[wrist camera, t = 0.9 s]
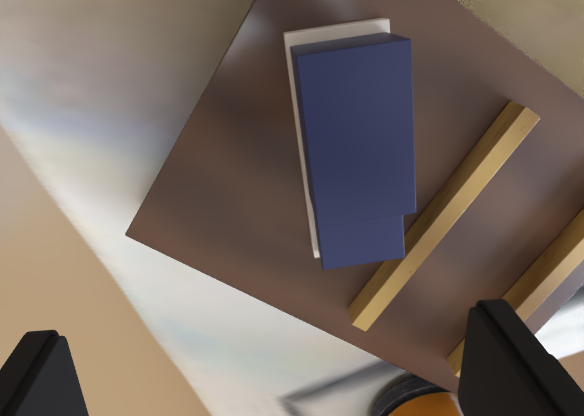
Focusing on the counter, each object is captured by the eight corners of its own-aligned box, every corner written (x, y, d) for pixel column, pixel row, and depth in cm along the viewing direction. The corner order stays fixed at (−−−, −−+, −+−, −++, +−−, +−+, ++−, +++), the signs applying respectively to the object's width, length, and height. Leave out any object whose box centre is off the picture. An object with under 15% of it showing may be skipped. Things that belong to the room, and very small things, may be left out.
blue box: (283, 32, 21) (289, 41, 17) (382, 17, 21) (415, 23, 17) (311, 247, 26) (323, 298, 22) (394, 234, 26) (422, 283, 22)
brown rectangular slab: (305, -93, 23) (319, -118, 18) (633, 155, 29) (711, 188, 24) (141, 204, 29) (116, 249, 24) (447, 359, 35) (479, 420, 30)
